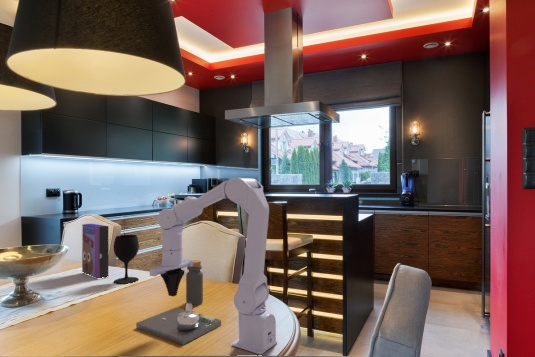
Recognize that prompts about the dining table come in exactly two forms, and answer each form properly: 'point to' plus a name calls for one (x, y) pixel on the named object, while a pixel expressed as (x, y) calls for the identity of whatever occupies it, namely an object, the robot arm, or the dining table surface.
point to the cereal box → (95, 250)
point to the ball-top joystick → (188, 318)
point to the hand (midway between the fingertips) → (172, 295)
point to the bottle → (194, 284)
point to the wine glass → (126, 254)
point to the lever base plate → (168, 329)
